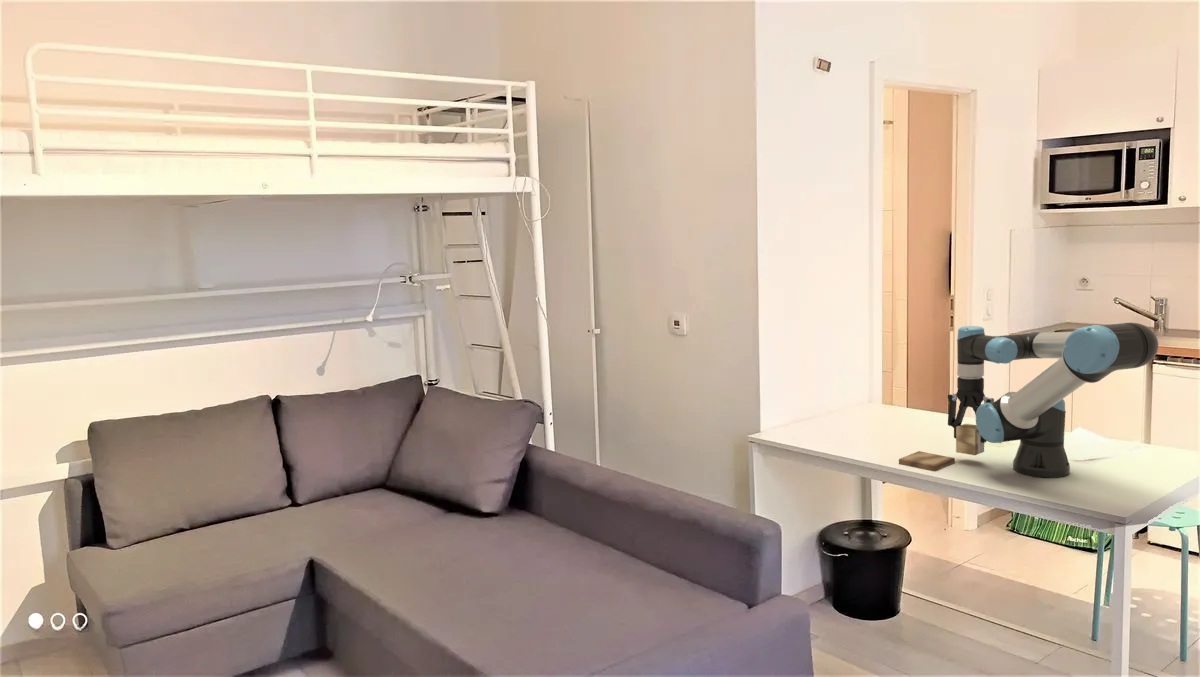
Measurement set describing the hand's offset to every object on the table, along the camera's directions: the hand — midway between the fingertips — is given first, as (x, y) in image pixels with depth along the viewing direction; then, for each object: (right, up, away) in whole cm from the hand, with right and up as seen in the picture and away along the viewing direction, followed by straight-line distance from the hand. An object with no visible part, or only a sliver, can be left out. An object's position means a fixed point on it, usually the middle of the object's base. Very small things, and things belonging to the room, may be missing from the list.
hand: (970, 450), depth 272 cm
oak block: (0, 0, 0) cm, 0 cm away
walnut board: (-13, -4, +1) cm, 14 cm away
